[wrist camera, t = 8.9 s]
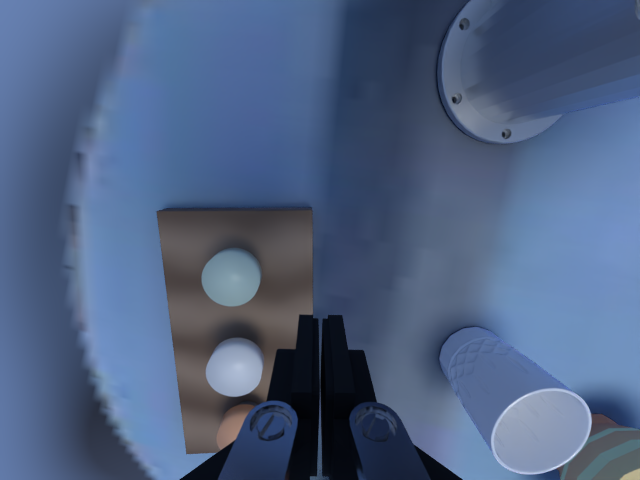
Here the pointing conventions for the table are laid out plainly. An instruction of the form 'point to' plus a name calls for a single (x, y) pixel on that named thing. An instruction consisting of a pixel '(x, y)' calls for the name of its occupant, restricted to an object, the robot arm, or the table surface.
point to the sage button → (232, 277)
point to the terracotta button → (233, 423)
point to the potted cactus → (606, 453)
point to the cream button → (235, 367)
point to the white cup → (515, 402)
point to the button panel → (226, 321)
